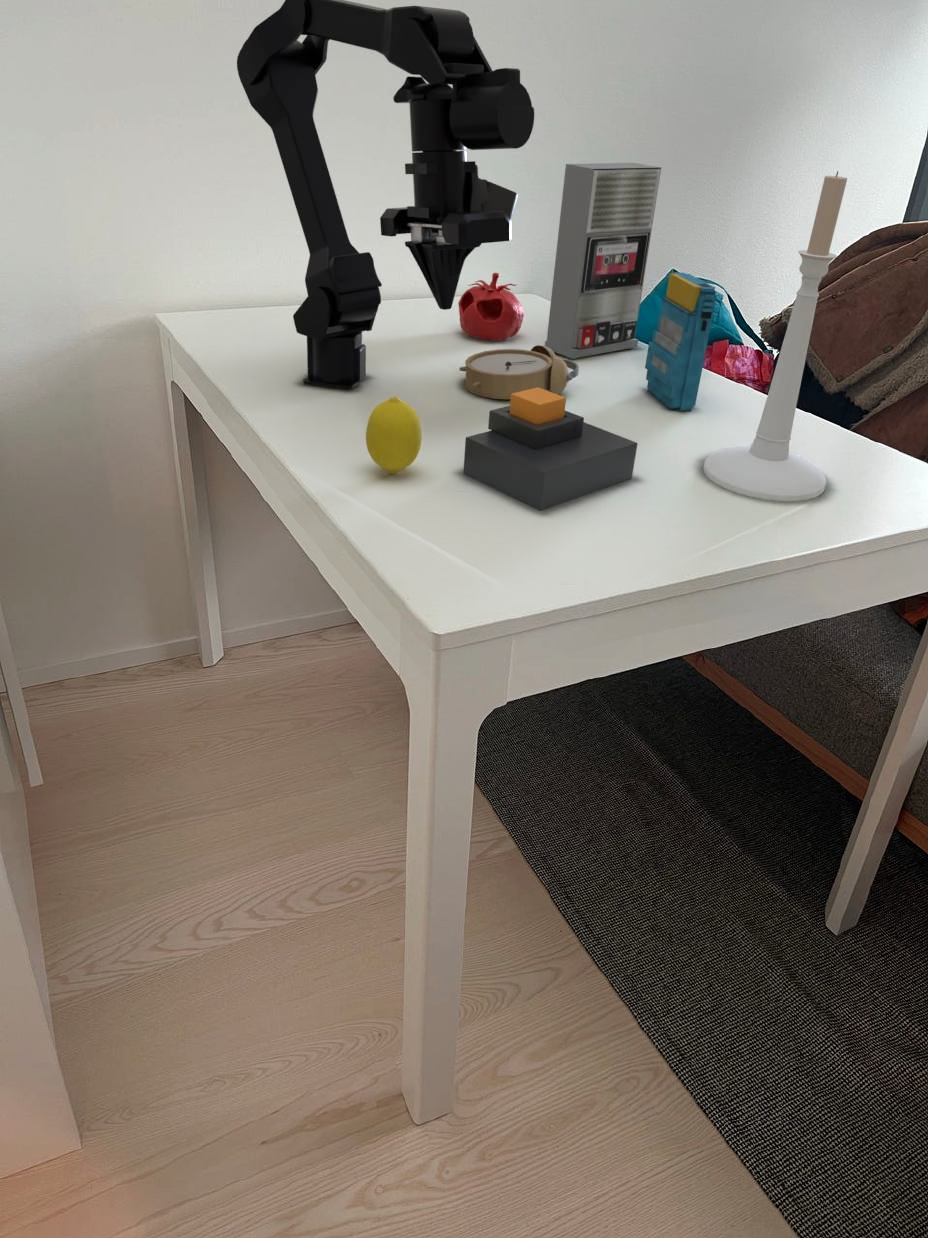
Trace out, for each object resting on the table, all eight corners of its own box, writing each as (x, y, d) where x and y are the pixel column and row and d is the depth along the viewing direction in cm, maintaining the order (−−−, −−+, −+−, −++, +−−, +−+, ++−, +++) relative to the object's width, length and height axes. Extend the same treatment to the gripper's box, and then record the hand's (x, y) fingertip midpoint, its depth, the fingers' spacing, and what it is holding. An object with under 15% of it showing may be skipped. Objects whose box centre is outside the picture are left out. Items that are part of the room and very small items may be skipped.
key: (508, 415, 97) (510, 393, 96) (535, 408, 99) (538, 386, 98) (536, 427, 94) (539, 404, 93) (563, 419, 97) (566, 397, 95)
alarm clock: (454, 353, 125) (562, 332, 127) (458, 389, 127) (564, 368, 129) (474, 379, 115) (591, 356, 117) (478, 417, 118) (592, 394, 120)
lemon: (399, 489, 93) (401, 410, 89) (354, 474, 95) (354, 397, 91) (430, 472, 97) (434, 396, 93) (386, 459, 99) (388, 384, 95)
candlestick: (681, 474, 101) (742, 165, 85) (735, 445, 110) (799, 160, 94) (795, 512, 94) (883, 183, 79) (843, 478, 103) (930, 176, 87)
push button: (460, 472, 97) (463, 416, 94) (552, 445, 106) (558, 393, 103) (540, 511, 91) (547, 452, 87) (631, 478, 99) (641, 423, 96)
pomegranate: (486, 323, 151) (491, 262, 146) (534, 338, 145) (540, 275, 140) (442, 332, 145) (446, 268, 140) (490, 347, 139) (495, 282, 134)
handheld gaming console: (698, 412, 119) (722, 289, 112) (667, 412, 118) (689, 288, 111) (667, 387, 127) (688, 271, 120) (639, 388, 126) (658, 271, 119)
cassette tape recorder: (573, 360, 136) (597, 169, 123) (544, 350, 140) (564, 163, 127) (637, 349, 143) (666, 168, 131) (608, 339, 147) (634, 162, 134)
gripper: (555, 147, 94) (554, 311, 101) (461, 150, 108) (465, 293, 115) (458, 150, 89) (463, 322, 96) (373, 153, 103) (383, 302, 110)
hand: (445, 308), depth 104 cm, fingers closed
